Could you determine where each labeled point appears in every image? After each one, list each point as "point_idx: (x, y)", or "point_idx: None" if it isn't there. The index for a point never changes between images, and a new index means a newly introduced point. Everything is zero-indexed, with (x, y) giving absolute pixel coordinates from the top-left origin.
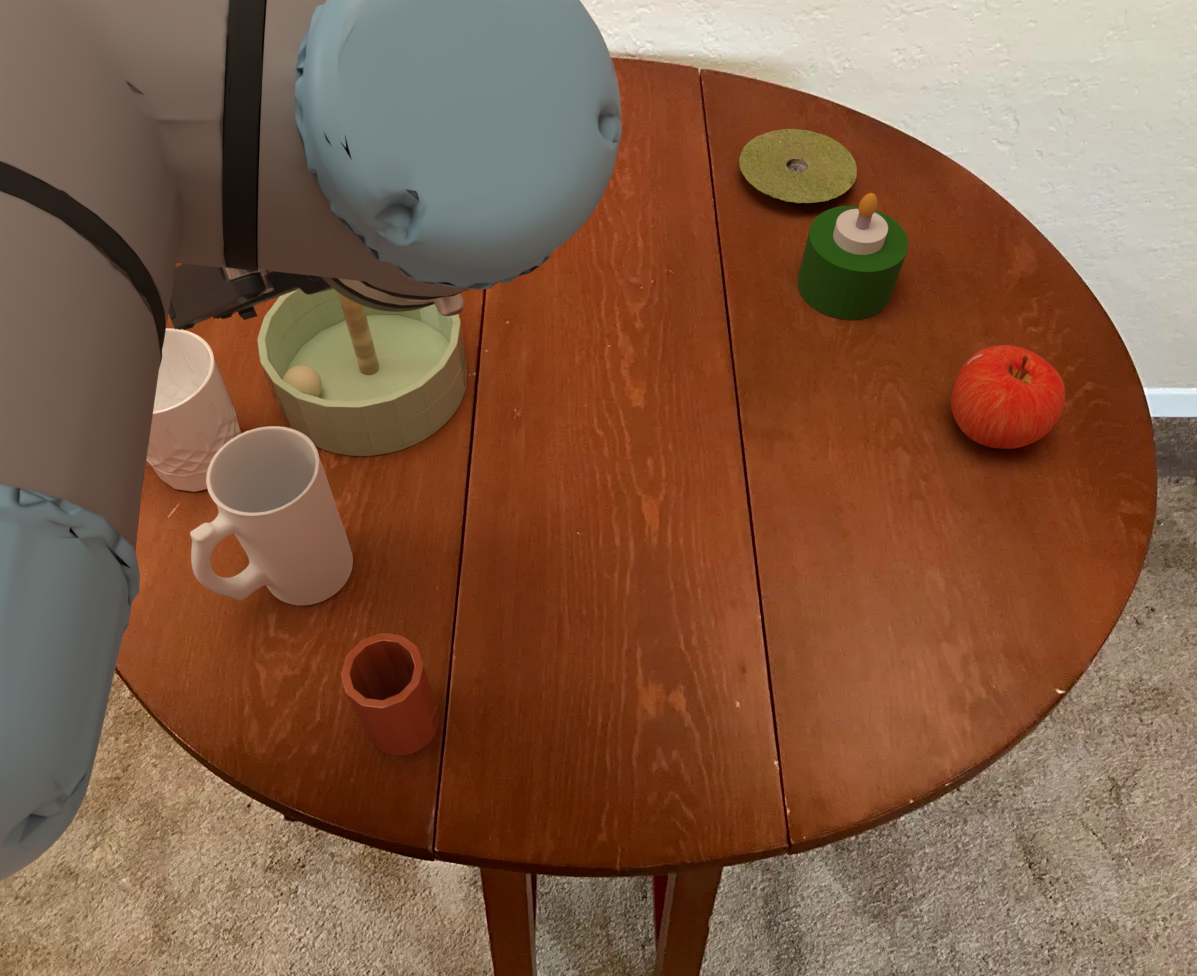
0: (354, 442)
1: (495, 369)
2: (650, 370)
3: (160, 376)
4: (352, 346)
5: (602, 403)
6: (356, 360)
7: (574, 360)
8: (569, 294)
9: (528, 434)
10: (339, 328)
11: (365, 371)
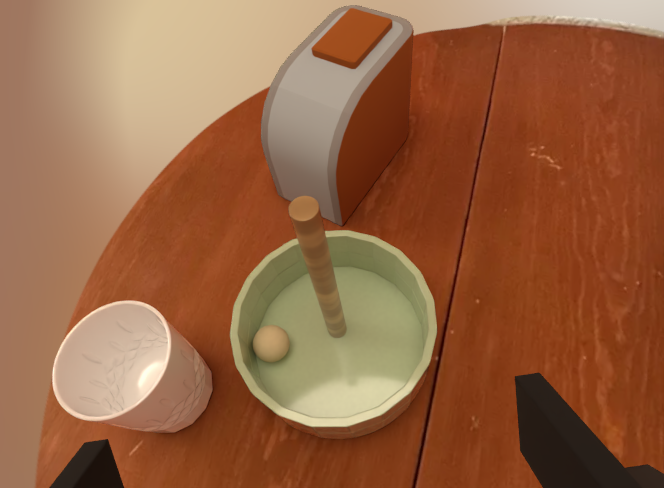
0: (304, 430)
1: (458, 357)
2: (632, 404)
3: (140, 329)
4: None
5: None
6: None
7: (544, 367)
8: (545, 280)
9: (484, 457)
10: None
11: (332, 335)
